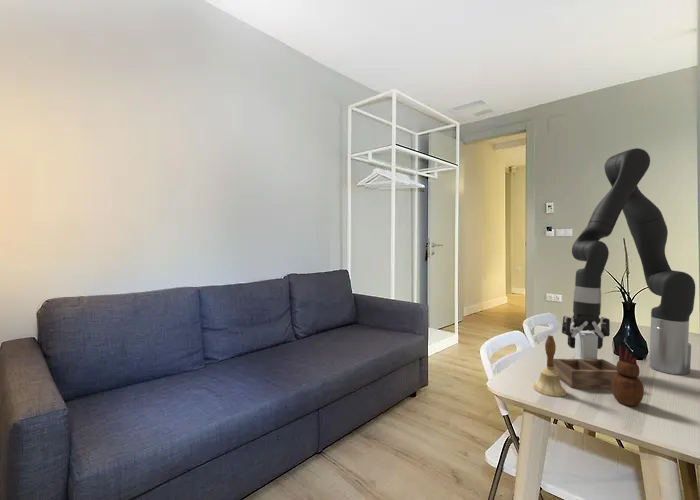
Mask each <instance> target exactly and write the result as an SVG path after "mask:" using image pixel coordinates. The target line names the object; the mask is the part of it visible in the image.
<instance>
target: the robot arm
mask: <svg viewBox="0 0 700 500" xmlns="http://www.w3.org/2000/svg"><path fill="white" fill-rule="evenodd" d="M650 165H651V157H650V155H649V153H648V152H647V151H646V150H645V149H643V148H639V147H637V148H636V147H635V148H631V149H628V150H624V151H621V152H620V153H616V154H614V155H612V156H610V157H609V158H607V159H606V161H605V164H604V173H605V176H606V178H607V181H608V182H609V184H610V186H611V188H610V190H609V191H608V192H607V193H606V194H605V196H604V197H603V198H602V199H601V200H600V201H599V203H598V204H597V206H596V207H595V208H594V210H593V212H592V214H591V216H590V217H589V218H590V219H589V220H588V223H587V226H586V227H585V228H584V230H582V231H581V233H580V234H579V235H578V237H577V238H576V240H574V243H573V245H572V246H571V247H572V248H571V254H572V256H573V258H574V259H575V260H577V261H580V262H585V265H584V267H583V268H579V269H577V270H576V271H575V281H574V282H575V284H574V290H573V301H572V304H573V305H572V307H573V309H572V312H573V316H572V317H571V316H566V315H565V316H563V317H562V326H561V333H562V334H564V335H565V336H567V345H568V347H569V348H571V349H576V335H577V333H579V332H580V331H586V332H587V331H588V332H593V334H594V335H596V336H598V349H599V350H601V349H602V348H603V345H604V343H603V342H604V341H603V340H604V338H606V337H609V336H610V335H611V333H610V331H611V329H610V328H611V327H610V326H611V325H610V323H611V322H610V321H611V320H610V319H609V318H607V317H604V316H601V308H602V276H603V272H604V270H605V267H606V264H607V262H608V260H609V255H610V253H609V252H610V251H609V248H608V245H607V244H606V243H605V242H604V241H600V240H601V239H603V238H608V237H609V236H611V234H612V232H613V230H614V227H615V226H616V224H617V221H618V219H619V217H620V215H621V213H623V215H624V217H625V220H626V223H627V226H628V229H629V232H630V235H631V236H632V240H633V241H634V246H635V248H636V250H637V253H638V256H639V259H640V262H641V265H642V271H643V275H644V276H643V277H644V280H645V284H646V286H647V288H648V290H649V291H650V293H652V294H654V295H656V296H659V297H661V298H660V304H659V305H658V306H655V307H652V308H651V310H650V311H651V312H650V330H649V331H650V334H649V337H650V338H649V359H648V360H649V361H648V363H649V365H648V366H649V367H650V368H651V369H653V370H656V371H659V372H661V373H666V374H671V375H687V374H690V373H691V365H692V364H691V362H692V361H691V358H692V344H691V343H689V333H690V332H689V331H690V330H689V329H690V317H691V315H692V313H693V312H694V307H695V306H694V305H695V298H696V282H695V279H694V278H693V277H692V275H690V274H689V273H687V272H685V271H679V270H672V269H671V266H670V265H669V262H668V259H667V256H666V245H667V241H668V234H669V233H668V227H667V224H666V220H665V219H664V216H663V213H662V211H661V209H659V207H658V206H657V205H656V204H655V203H654V202H652V201H651V199H650V198H648V197H647V196H645V194H643V193H642V192H641V190H640V188H639V186H638V185H639V183H640V182H641V180H642V178H643V177H644V176H645V175H646V172H647V171H648V170H649V168H650ZM600 316H601V317H600ZM571 324H572V325H571ZM599 324H600V327H599V326H598V325H599Z"/></svg>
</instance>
